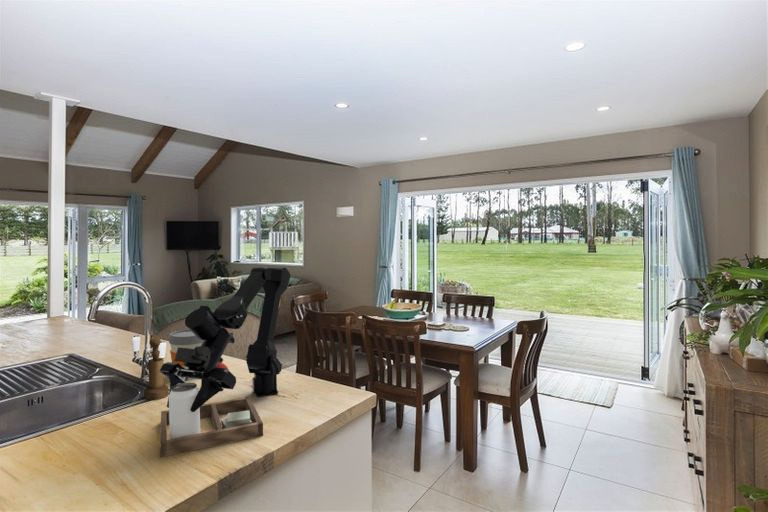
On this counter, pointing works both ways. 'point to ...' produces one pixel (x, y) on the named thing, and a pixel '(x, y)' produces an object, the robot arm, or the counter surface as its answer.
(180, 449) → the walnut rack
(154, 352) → the wooden pepper mill
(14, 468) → the counter surface
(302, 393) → the counter surface
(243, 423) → the offcut stack
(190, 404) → the can
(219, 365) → the red pomegranate
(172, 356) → the reusable coffee cup
